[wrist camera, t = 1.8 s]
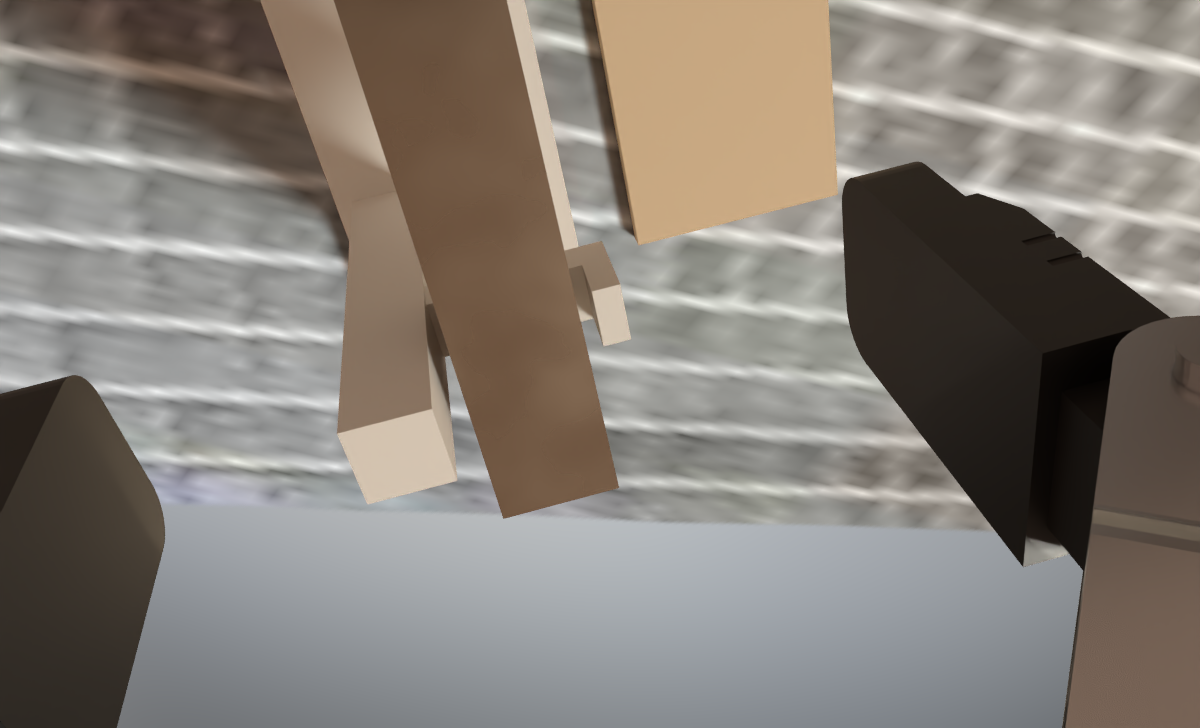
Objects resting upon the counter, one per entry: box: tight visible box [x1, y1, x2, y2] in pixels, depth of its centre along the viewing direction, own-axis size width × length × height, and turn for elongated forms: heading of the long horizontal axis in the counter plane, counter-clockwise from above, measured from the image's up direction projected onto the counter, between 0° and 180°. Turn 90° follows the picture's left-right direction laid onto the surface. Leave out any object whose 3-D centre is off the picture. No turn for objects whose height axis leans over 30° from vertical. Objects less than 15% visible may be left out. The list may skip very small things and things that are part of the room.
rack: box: [260, 0, 631, 504], centre depth 22 cm, size 7×19×13 cm, turn 10°
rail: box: [334, 0, 619, 518], centre depth 20 cm, size 3×22×3 cm, turn 10°
